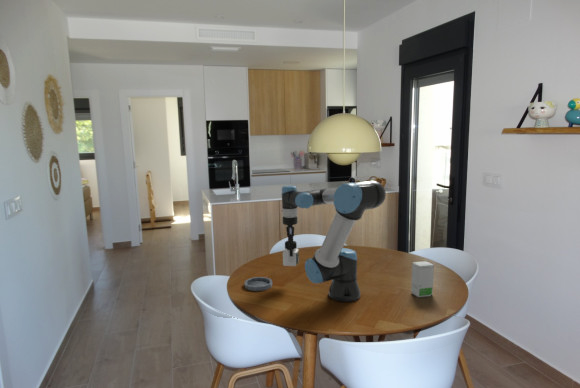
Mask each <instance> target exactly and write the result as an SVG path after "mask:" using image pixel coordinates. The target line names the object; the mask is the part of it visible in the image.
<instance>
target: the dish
mask: <svg viewBox="0 0 580 388" xmlns="http://www.w3.org/2000/svg"><path fill="white" fill-rule="evenodd" d="M244 287H245V289H246V290H248V291H250V292H251V291H254V292H261V291H267V290H269V289H271V288H272V287H273V280H272V278H270V277H265V276H254V277H251V278H247V279H246V280H245V281H244Z"/></svg>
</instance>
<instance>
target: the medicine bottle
mask: <svg viewBox="0 0 580 388" xmlns="http://www.w3.org/2000/svg"><path fill="white" fill-rule="evenodd" d="M293 246H294V262H289V257H288V250H287V249H288V248H289V246H288V240H286V241H284V250H283V252H282V266H285V267H286V266H287V267H297V266H298V265H299V262H300V251H299V250H300V249H299V248H297V246H298V245H297V241H295V240H293Z"/></svg>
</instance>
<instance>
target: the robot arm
mask: <svg viewBox="0 0 580 388" xmlns="http://www.w3.org/2000/svg"><path fill="white" fill-rule="evenodd" d="M297 189H298V188H297V185H284V186H282V188H281V206H282V207H281V208H282V209H281V211H280V212H281V213H282V224H283V225H285V226H286V228H285V229H286V237H287V241H288V246H289V248H288V249H287V250H288V257H289V262H294V246H293V241H294V237H295V226H294V225H297V224H298V208H300V209H309V208H311V207H313V206H319V205H333V206H334V209H335V212H336V213H335V214H334V217H333V220H332V222H331V225H330V226H329V228H328V231H327V233H326V235H325V237H324V240H323V242H322V245H321V247H320V248H318V249H316V250H315V252H314V255H313V257H312V258H311V257H310V258H308V259H306V260H305V263H304V272H305V273H306V276H307V278H308V279H309V281H310V282H311V283H313V284H315V285H316V284H322V283H325V282H328V281H331V283H330V286H329V289H328V297H330V299H332V300H333V301H336V302H344V303H350V302H354V301H357V300H359V299H360V298H361V290H360V287H359V283H358V255H357V252H356V251H355V250H353V249H351V248H345V247H344V246H345V244H346V241H347V240H348V238H349V235H350V233H351V231H352V230H353V227H354V225H355V223H356V221H359V220H361V219H362V217H363V216H364V213H365V211H367V210H371V209H376V208H378V207H381V205H382V204H383V203H384V201H385V199H386V189H385V186H384V185H382V183H381V182H379V181H376V180H365V181H357V182H350V181H349V182H346V183H342V184H340V185H339V186H338V187H334V188H332V187H331V188H321V189H314V190H307V191H298V190H297Z"/></svg>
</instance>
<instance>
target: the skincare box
mask: <svg viewBox="0 0 580 388" xmlns="http://www.w3.org/2000/svg"><path fill="white" fill-rule="evenodd" d="M411 264H412V268H411V287H410V288H411V289H410V291H411V294H413V295H414V296H415V297H417V298H424V297H432V296H433V291H434V290H433V289H434V288H433V287H434V272H435V271H434V268H435V264H432V263H431V262H428V261H414V262H412V263H411ZM431 295H432V296H431Z"/></svg>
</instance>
